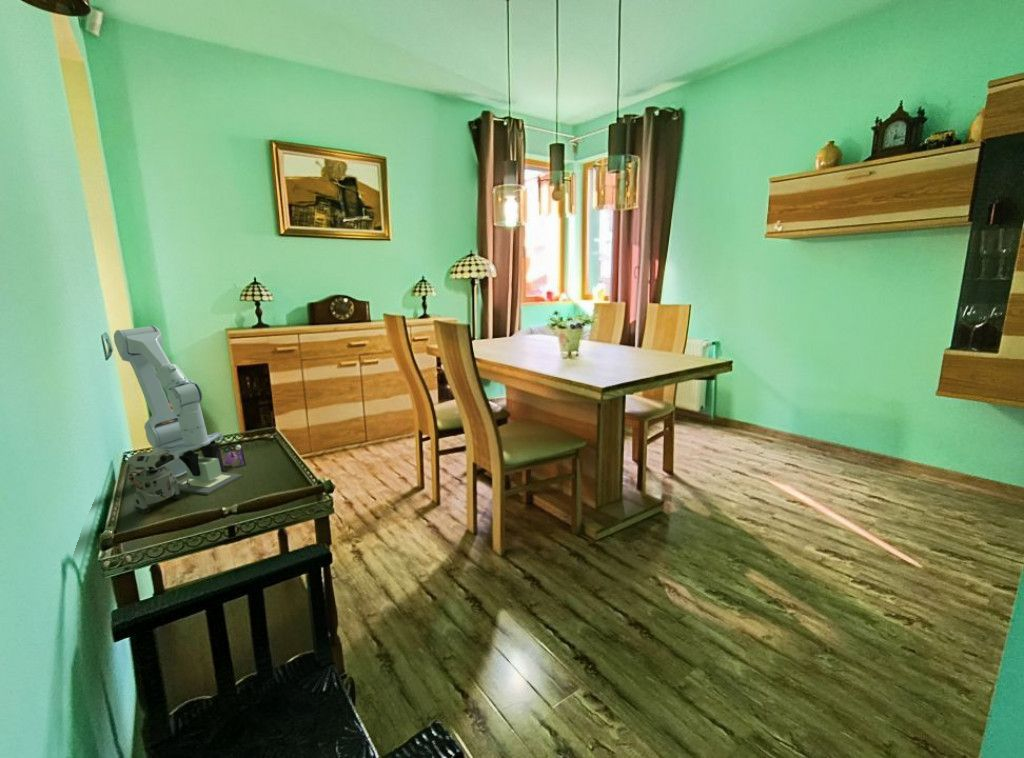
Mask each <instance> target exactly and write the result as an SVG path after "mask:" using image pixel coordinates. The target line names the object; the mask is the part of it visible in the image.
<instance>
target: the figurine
mask: <svg viewBox="0 0 1024 758" xmlns="http://www.w3.org/2000/svg"><path fill="white" fill-rule="evenodd" d="M173 461H175V455H174V454H172V453H170V451H167V450H165V451H156V452H152V451H139V452H137V453H135V454H132V455H130V457H129V458H128V459H126V461H125V463H126V464H128V465H129V466H132V467H133V468H134V469H135V470H136V471H137V472H136V471H132V472H130V474H128V480H129V484H130V488H135V489H136V490H135V491H136V493H133V500H134V501H133V503H134V505H135V506H134V509H135V511H137V512H138V511H140V512H139V513H142V512H143V513H142V514H144V513H145V514H147V513H149V512H151V511H150V508H149V506H148V505H147V504H156V503H159V502H162V501H165V500H166V499H168V498H171V499H174V500H180V499H181V498H182V497H183V496H182V493H180V492H181V491H179V489H178V487H177V486H180V487H182V488H184V489H186V488H188V485H190V483H189V484H188V481H189V480H187V483H186V484H183V483H181V481H180V480H178V479H177V477H176V478H174V477H173V475H172V471H171V469H168V468H166V467H165V465H167V464H169V463H171V462H173ZM133 473H135V474H133ZM189 482H190V481H189ZM176 483H177V484H176ZM146 512H147V513H146Z"/></svg>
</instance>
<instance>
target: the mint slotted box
mask: <svg viewBox="0 0 1024 758" xmlns="http://www.w3.org/2000/svg"><path fill="white" fill-rule="evenodd" d="M198 463H199V469H200V476H193V475H192V473H191V471H190V470H189V468H188V467H187V466H186V464H185V467H186V471H187V473H186V475H187V477H188V478H189V479H196V480H205V481H211V480H213V479H215V478H217V477H218V476H220V475H222V472H223V471H221V468H220V464H219V460H218V458H208V457H204V456H198Z"/></svg>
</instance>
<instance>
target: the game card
mask: <svg viewBox="0 0 1024 758" xmlns="http://www.w3.org/2000/svg"><path fill="white" fill-rule="evenodd" d="M221 450H223V451H224V452H226V453H227V454H225V457H223V456H222V452H221ZM235 450H236V451H237V452H235ZM230 451H231V452H230ZM216 458H218V460H219V464H220V468H221V472H223V471H227V470H228V471H229V470H232V469H235V468H240V467H244V466H246V465H247V464H246V463H247V462H246V459H245V454H244V449H243V446H242V443H238V444H233V445H230V446H224V447H219V448H218V450H217V453H216ZM237 459H239V460H238V461H239V463H238V465H235V466H231V467H227V468H225V466H228V465H233V464H234V463H235V462H236V461H237ZM223 460H224V461H223Z"/></svg>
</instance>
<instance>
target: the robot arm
mask: <svg viewBox="0 0 1024 758" xmlns="http://www.w3.org/2000/svg"><path fill="white" fill-rule="evenodd" d="M113 339H114V340H113V341H114V345H115V348H116V349H117V353H118V355H119V357H120V358H121V360H122V361H123V362H127V363H129V364H130V366H131V367H132V370H133V372H134V375H135V377H136V380H137V382H138V384H139V386H140V389H141V392H142V394H143V396H144V399H145V401H146V405H147V407H148V410H149V411H150V413H151V416H150V417H149V419H147V421H146V422H145V423H144V427H143V428H144V430H145V436H146V439H147V440H146V441H147V442H148V444H149V445H150V446H151V447H152V451H151V452H156V451H165V450H167V451H170V453H172V454H174V455H175V461H173V462H171V463H169V464H167V465H165V467H166V468H168V469H171V471H172V475H173V478H176V479H177V478H179V477H181V476H183V475H186V474H187V471H186V467H185V464H186V466H187V467H188V468H189V470H190V471H191V473H192V475H193V476H200V469H199V463H198V457H200V456H199V455H200V454H199V453H196V452H194V451H195V450H198V449H199V450H200V452H201V453H202V457H208V458H216V453H217V450H218V449H220V444H219V442H216V441H220V440H221V441H222V440H223V439H224V436H223V432H220V431H219V432H214V433H210V434H208V431H207V428H206V424H205V423H206V422H205V420H204V415H203V411H202V407H201V402H202V400H203V393H202V390H201V387H200V386H199V384H198V383H197V382H196V381H193V380H192V379H188V377H187V376H186V375H185V373H184V372H183V371H182V369H181V368H180V367H179V366H178V365H177V364H175V363H171V362H170V360H169V358H168V356H167V354H166V353H165V351H164V349H163V335H162V332H161V330H160V328H158V327H157V326H156V325H153V324H152V325H149V326H142V327H134V328H126V329H117V330H115V332H114V333H113ZM164 390H165V391H166V392H167V396H166V393H165V391H164Z"/></svg>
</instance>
